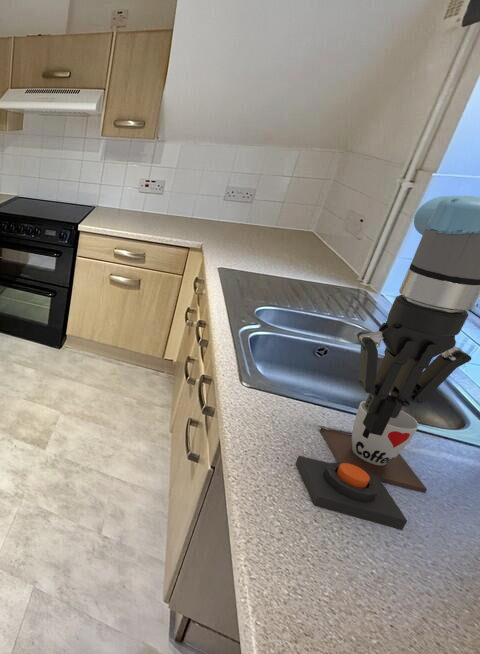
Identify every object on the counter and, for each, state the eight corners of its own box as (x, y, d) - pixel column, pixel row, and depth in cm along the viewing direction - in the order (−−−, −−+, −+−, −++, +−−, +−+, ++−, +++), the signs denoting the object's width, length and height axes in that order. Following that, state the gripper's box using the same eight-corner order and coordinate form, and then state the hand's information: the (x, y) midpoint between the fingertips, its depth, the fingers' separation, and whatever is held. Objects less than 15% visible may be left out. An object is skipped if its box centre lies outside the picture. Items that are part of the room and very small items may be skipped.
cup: (341, 455, 81) (359, 414, 78) (343, 434, 87) (360, 395, 83) (398, 479, 76) (420, 436, 73) (396, 455, 82) (417, 414, 78)
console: (372, 483, 77) (380, 467, 75) (402, 530, 68) (412, 512, 66) (295, 463, 81) (301, 447, 79) (314, 505, 72) (321, 488, 70)
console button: (359, 474, 74) (363, 466, 73) (370, 491, 70) (374, 484, 70) (332, 467, 75) (335, 460, 75) (342, 484, 72) (345, 476, 71)
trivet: (389, 447, 85) (391, 443, 85) (425, 493, 75) (427, 489, 74) (319, 431, 89) (321, 427, 89) (343, 472, 79) (345, 468, 78)
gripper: (473, 300, 62) (408, 425, 70) (365, 286, 66) (316, 405, 75) (512, 321, 55) (436, 457, 64) (389, 304, 60) (333, 432, 68)
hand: (371, 429), depth 69 cm, fingers closed
